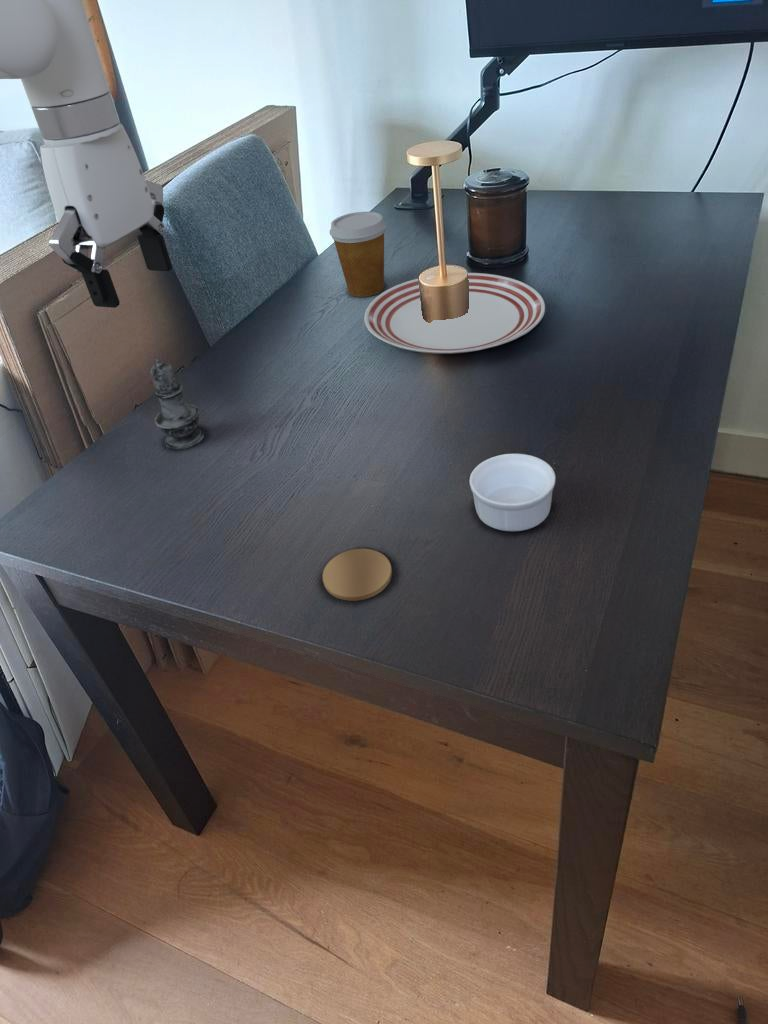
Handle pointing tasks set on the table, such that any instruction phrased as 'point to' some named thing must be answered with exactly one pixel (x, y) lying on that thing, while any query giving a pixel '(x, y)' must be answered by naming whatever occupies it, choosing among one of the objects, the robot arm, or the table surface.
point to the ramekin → (512, 491)
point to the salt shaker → (175, 410)
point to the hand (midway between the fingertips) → (135, 287)
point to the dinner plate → (489, 322)
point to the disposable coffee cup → (361, 251)
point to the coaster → (357, 574)
